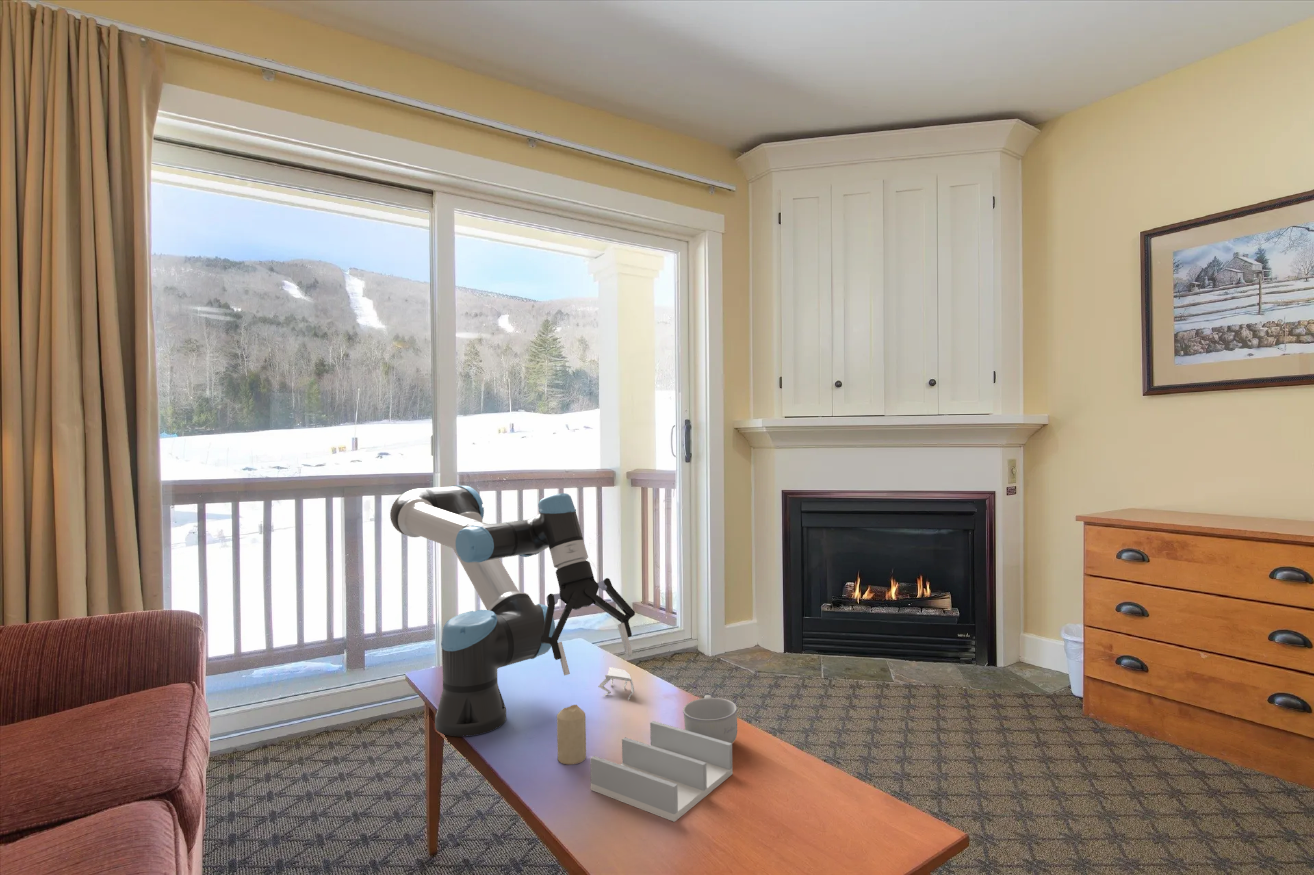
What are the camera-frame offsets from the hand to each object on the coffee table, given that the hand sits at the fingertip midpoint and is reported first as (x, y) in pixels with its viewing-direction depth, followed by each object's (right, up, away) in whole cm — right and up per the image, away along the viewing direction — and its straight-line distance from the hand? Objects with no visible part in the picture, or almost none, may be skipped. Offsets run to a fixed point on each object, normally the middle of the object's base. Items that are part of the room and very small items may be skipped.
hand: (598, 664), depth 143 cm
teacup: (+23, -16, -2) cm, 28 cm away
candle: (-5, -16, -8) cm, 18 cm away
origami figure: (+3, -16, +25) cm, 30 cm away
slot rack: (+13, -16, -17) cm, 27 cm away
